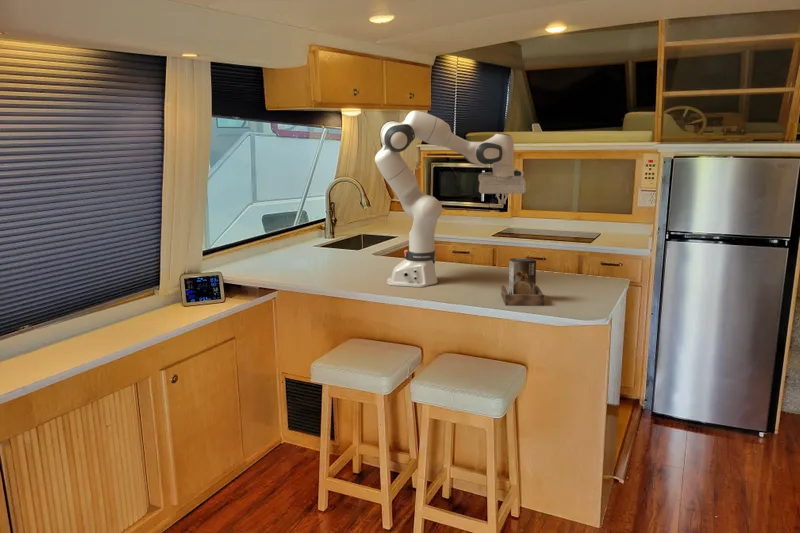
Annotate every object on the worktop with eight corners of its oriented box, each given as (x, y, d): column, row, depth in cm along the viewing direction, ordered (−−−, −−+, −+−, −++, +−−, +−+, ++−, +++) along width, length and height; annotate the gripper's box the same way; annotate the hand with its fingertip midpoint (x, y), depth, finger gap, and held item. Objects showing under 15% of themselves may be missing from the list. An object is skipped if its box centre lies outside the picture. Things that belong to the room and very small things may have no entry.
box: (505, 305, 223) (505, 295, 222) (501, 294, 238) (501, 285, 237) (543, 305, 222) (544, 295, 221) (536, 295, 237) (537, 285, 236)
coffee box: (530, 296, 235) (531, 257, 232) (535, 300, 229) (537, 260, 225) (508, 297, 234) (509, 258, 231) (512, 301, 228) (513, 261, 225)
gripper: (479, 172, 250) (478, 204, 253) (527, 172, 249) (526, 204, 252) (478, 171, 257) (477, 203, 259) (525, 171, 255) (524, 203, 258)
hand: (501, 204), depth 256 cm, fingers closed
